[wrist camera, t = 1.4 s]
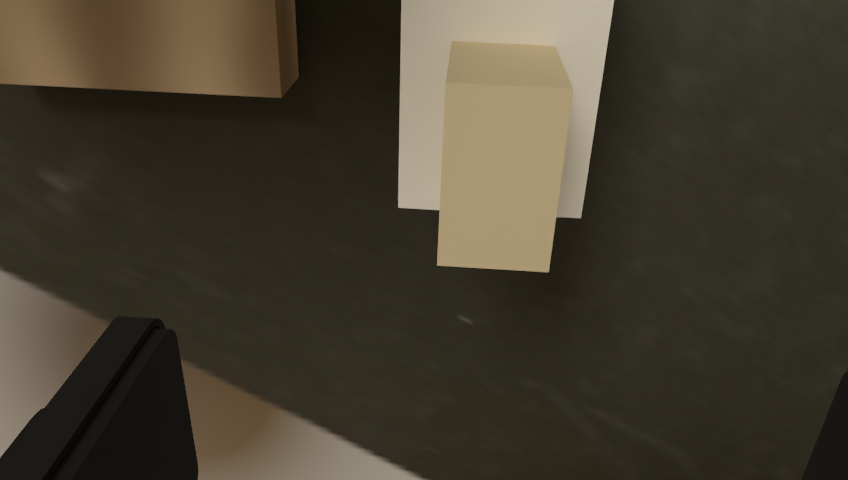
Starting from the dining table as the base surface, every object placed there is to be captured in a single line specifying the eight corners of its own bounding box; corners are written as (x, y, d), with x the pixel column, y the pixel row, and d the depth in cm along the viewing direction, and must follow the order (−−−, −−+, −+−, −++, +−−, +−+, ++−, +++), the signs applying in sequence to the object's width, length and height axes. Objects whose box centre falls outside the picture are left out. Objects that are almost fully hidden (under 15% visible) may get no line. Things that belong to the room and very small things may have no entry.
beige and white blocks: (590, -129, 25) (676, -125, 14) (556, 135, 30) (602, 291, 19) (424, -135, 26) (383, -136, 15) (416, 128, 30) (381, 277, 19)
